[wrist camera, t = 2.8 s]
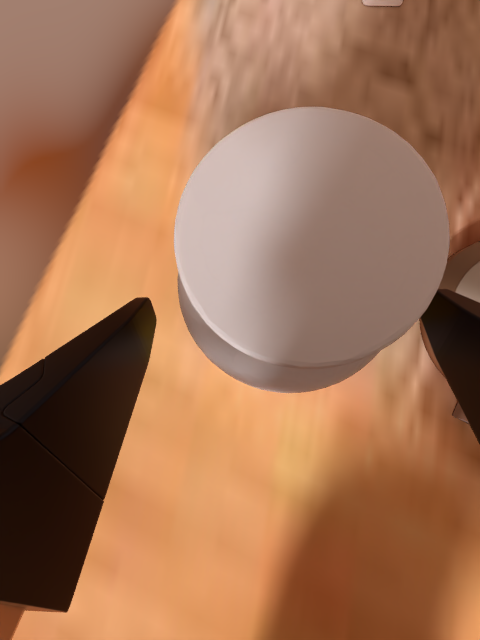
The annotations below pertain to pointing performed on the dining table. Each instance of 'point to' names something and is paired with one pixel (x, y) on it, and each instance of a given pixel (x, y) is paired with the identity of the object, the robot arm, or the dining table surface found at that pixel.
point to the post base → (459, 291)
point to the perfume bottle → (382, 2)
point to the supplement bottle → (307, 247)
